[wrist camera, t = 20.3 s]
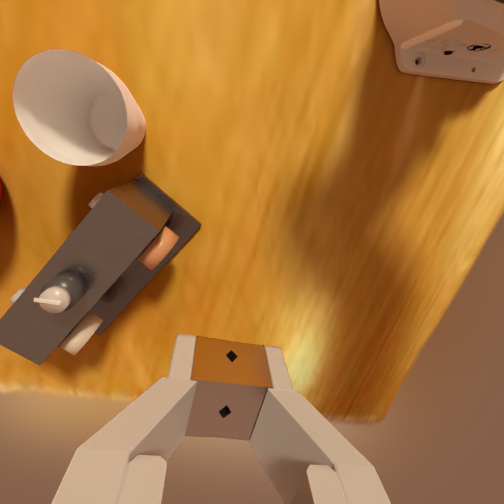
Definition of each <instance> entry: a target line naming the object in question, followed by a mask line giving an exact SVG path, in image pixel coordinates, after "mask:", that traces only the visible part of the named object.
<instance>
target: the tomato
mask: <svg viewBox="0 0 504 504" xmlns="http://www.w3.org/2000/svg"><path fill="white" fill-rule="evenodd" d="M1 197H2V187H1V181H0V202H1Z"/></svg>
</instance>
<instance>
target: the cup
mask: <svg viewBox="0 0 504 504" xmlns="http://www.w3.org/2000/svg"><path fill="white" fill-rule="evenodd" d="M13 104H14V109H15V113H16V116H17V119H18V121H19V123H20V125H21V127H22V129H23V130H24V132H25V134H26V135H27V136H28V138H29V139H30V140H31V141H32V142H33V143H34V144H35V145H36V146H37V147H38V148H39V149H40V150H41V151H43V152H44V153H45V154H47V155H48V156H50V157H52V158H54V159H56V160H58V161H60V162H63V163H67V164H71V165H78V166H103V165H108V164H111V163H113V162H116V161H118V160H119V159H121V158H122V157H124V156H125V155H127V154H128V153H130V152H131V151H132V150H134V149H135V148H137V147H138V146H139V145H140V143H141V142H142V140H143V138H144V136H145V131H146V124H145V119H144V116H143V113H142V111H141V110H140V108H139V106H138V105H137V103H136V101H135V100H134V98H133V96H132V95H131V93H130V91H129V90H128V88H127V87H126V85H125V84H124V83H123V82H122V81H121V79H120V78H119V77H118V76H117V75H116V74H114V73H113V72H112V71H111V70H109V69H108V68H107V67H105V66H103V65H102V64H100V63H98V62H96V61H94V60H92V59H90V58H89V57H87V56H85V55H83V54H80V53H78V52H75V51H71V50H65V49H51V50H46V51H42V52H40V53H37V54H36V55H34V56H32V57H31V58H29V59H28V60H27V61H26V62H25V63H24V64H23V66H22V67H21V68H20V70H19V72H18V74H17V76H16V79H15V82H14V87H13Z"/></svg>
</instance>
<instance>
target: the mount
mask: <svg viewBox="0 0 504 504" xmlns="http://www.w3.org/2000/svg"><path fill="white" fill-rule="evenodd" d="M164 226H166V227H168V228H169V229H170V230H171V231H172V232H174V233H175V234H176V235H177V236H179V239H178V241H177V242H176V244H175V245H174V246H173V248H172V249H171V250H170V251H169V253H168V254H167V255H166V256H165V257H164V258H163V260H162V261H161V262H160V263H159V264H158V265H157V266H156V267H155V268H154V269H152V270H151V269H149V268H148V267H146V266H145V265H144V264H142V263H141V262H140V261H138V260H137V257H138V256H139V255H140V254H141V252H142V251H143V250H144V249H145V247H146V246H147V245H148V244H149V243H150V242H151V241H152V239H153V238H154V237H155V236H156V235H157V234H158V233H159V232H160V230H161V229H162V228H163V227H164ZM200 226H201V223H200V222H198V221H197V220H196V219H195V218H194V217H193V216H191V215H190V214H189V213H188V212H187V211H186V210H184V209H183V208H182V207H181V206H180V205H179V204H177V203H176V202H175V201H174V200H173V199H172V198H170V197H169V196H168V195H167V194H166V193H165V192H163V191H162V190H161V189H160V188H159V187H158V186H156V185H155V184H154V183H153V182H152V181H151V180H149V179H148V178H147V177H146V176H145V175H144V174H142V173H141V174H140V175H139V176H138V177H137V178H136V179H135V180H133V181H130V182H127V183H125V184H122V185H119V186H116V187H114V188H111V189H108V190H107V191H106V192H105V194H104V195H103V196H102V197H101V198H100V200H99V201H98V202H97V203H96V205H95V206H94V207H93V208H92V209H91V211H90V212H89V213H88V214H87V215H86V217H85V218H84V219H83V220H82V221H81V223H80V224H79V225H78V226H77V227H76V229H75V230H74V231H73V232H72V234H71V235H70V236H69V237H68V238H67V240H66V241H65V242H64V243H63V244H62V246H61V247H60V248H59V249H58V250H57V252H56V253H55V254H54V255H53V256H52V258H51V259H50V260H49V261H48V263H47V264H46V265H45V266H44V267H43V269H42V270H41V271H40V272H39V273H38V275H37V276H36V277H35V278H34V279H33V281H32V282H31V283H30V284H29V285H28V287H27V288H26V289H25V290H24V292H23V293H22V294H21V295H20V296H19V298H18V299H17V300H16V301H15V302H14V304H13V305H12V306H11V307H10V308H9V310H8V311H7V312H6V313H5V314H4V316H3V317H2V318H1V319H0V345H2V346H4V347H6V348H8V349H10V350H11V351H13V352H15V353H17V354H19V355H21V356H23V357H25V358H27V359H28V360H30V361H32V362H34V363H36V364H38V365H41V364H42V362H43V361H44V360H45V359H46V358H47V357H48V356H49V355H50V354H51V352H52V351H53V350H54V349H55V348H56V347H57V346H58V345H59V343H60V342H61V341H62V340H63V339H64V338H65V337H66V336H67V334H68V333H69V332H70V331H71V330H72V329H73V328H74V327H75V326H76V324H77V323H78V322H79V321H80V320H81V319H82V318H83V317H84V315H85V314H86V313H87V312H88V311H90V312H91V313H93V314H94V315H96V316H97V317H99V318H101V319H102V320H103V321H102V322H101V324H100V325H99V327H98V328H97V330H96V331H95V333H97V334H98V335H100V334H101V333H102V332H103V331H104V330H105V329H106V328H107V327H108V326H109V325H110V324H111V323H112V321H113V320H114V319H115V318H116V317H117V316H118V315H119V314H120V313H121V312H122V311H123V310H124V308H125V307H126V306H127V305H128V304H129V303H130V302H131V301H132V300H133V299H134V298H135V297H136V295H137V294H138V293H139V292H140V291H141V290H142V289H143V288H144V287H145V286H146V285H147V284H148V282H149V281H150V280H151V279H152V278H153V277H154V276H155V275H156V274H157V273H158V272H159V270H160V269H161V268H162V267H163V266H164V265H165V264H166V263H167V262H168V261H169V260H170V259H171V257H172V256H173V255H174V254H175V253H176V252H177V251H178V250H179V249H180V248H181V247H182V246H183V244H184V243H185V242H186V241H187V240H188V239H189V238H190V237H191V236H192V235H193V234H194V233H195V231H196V230H197V229H198V228H199V227H200ZM65 271H71V272H75V273H77V274H79V275H81V276H82V277H83V278H84V279H85V281H86V283H87V291H86V293H85V294H84V296H83V297H82V298H81V299H80V300H79V301H78V302H77V303H76V304H75V306H74V307H73V308H71V309H70V310H67V311H62V312H60V313H50V312H47V311H45V310H44V309H43V308H42V307H41V306H40V304H39V302H34V298H39V296H40V291H41V289H42V287H43V286H44V285H45V284H47V283H48V282H49V281H50V280H52V279H53V278H54V277H55V276H57V275H58V274H59V273H61V272H65Z"/></svg>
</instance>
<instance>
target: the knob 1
mask: <svg viewBox="0 0 504 504" xmlns="http://www.w3.org/2000/svg"><path fill="white" fill-rule="evenodd" d="M25 289H26V288H25V287H23V288H21V289H20V290H19V291H18V292H17V293H16V294H15V295H14V296H13V297H12V298H11V299H10V302H11V303H13V304H14V302H15V301H16V300H17V299H18V298H19V296H20V295H21V294H22V293H23V292H24V290H25ZM102 321H103V320H102V319H101V318H99V317H97V316H96V315H94V314H93V313H91V312H90V311H88V312H87V313H86V314H85V315H84V317H83V318H82V319H81V320H80V321H79V322H78V323H77V324H76V326H75V327H74V328H73V329H72V330H71V331H70V332H69V333H68V334H67V336H66V338H65V339H64V340H63V341H62V343H61V344H60V345H59V347H60V348H62V349H63V350H65V351H67V352H69V353H71V354H72V355H75V354H76V353H77V352H78V351H79V350H80V349H81V348H82V347H83V346H84V345H85V343H86V342H87V341H88V340H89V339H90V337H91V336H92V335H93V334H94V332H95V331H96V330H97V328H98V327H99V325H100V324H101V322H102Z"/></svg>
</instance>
